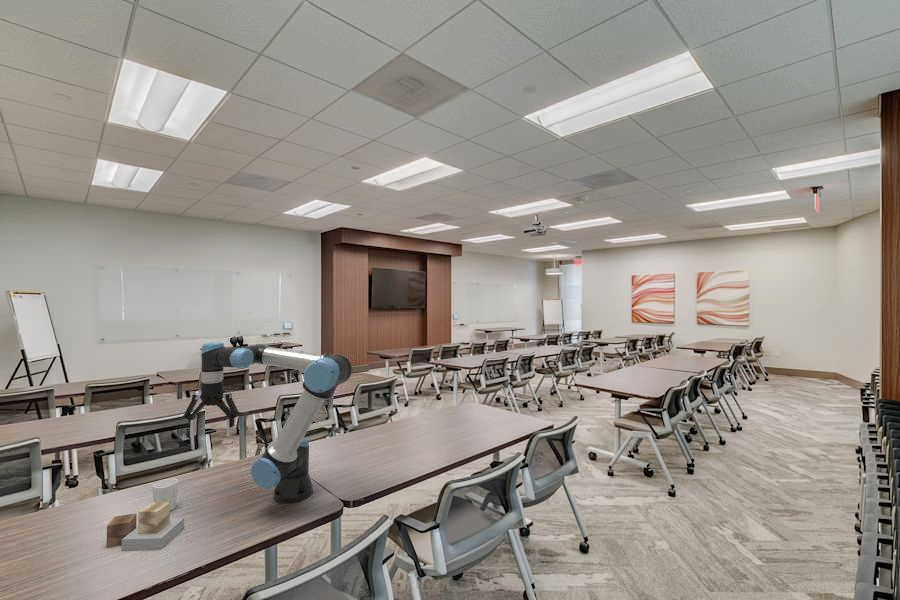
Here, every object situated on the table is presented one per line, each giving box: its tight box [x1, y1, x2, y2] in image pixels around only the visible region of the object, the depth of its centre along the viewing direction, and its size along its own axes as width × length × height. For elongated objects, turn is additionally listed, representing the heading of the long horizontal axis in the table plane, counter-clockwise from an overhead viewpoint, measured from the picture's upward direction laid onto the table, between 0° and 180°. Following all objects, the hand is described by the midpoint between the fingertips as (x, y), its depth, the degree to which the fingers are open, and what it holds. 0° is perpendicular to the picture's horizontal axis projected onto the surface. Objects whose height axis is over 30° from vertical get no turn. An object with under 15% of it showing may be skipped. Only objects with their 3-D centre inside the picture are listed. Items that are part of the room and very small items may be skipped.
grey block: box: [121, 517, 185, 551], centre depth 131 cm, size 12×12×4 cm
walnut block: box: [106, 512, 138, 549], centre depth 130 cm, size 6×6×7 cm
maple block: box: [137, 502, 171, 533], centre depth 131 cm, size 6×6×7 cm
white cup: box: [152, 478, 179, 512], centre depth 150 cm, size 8×8×10 cm
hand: (211, 435), depth 154 cm, fingers open, 13 cm apart
